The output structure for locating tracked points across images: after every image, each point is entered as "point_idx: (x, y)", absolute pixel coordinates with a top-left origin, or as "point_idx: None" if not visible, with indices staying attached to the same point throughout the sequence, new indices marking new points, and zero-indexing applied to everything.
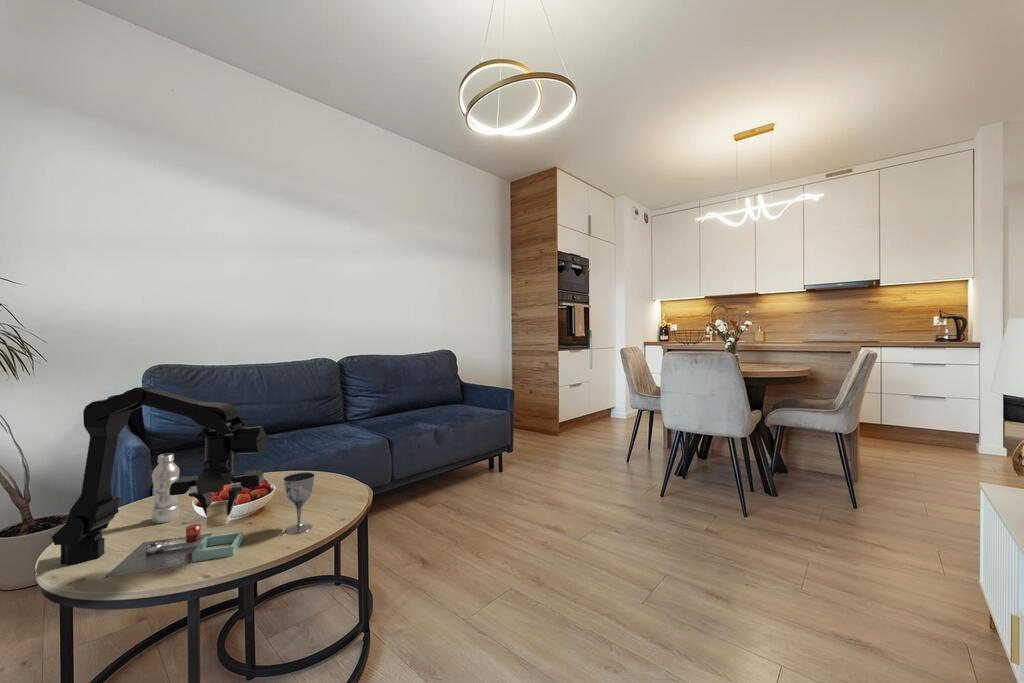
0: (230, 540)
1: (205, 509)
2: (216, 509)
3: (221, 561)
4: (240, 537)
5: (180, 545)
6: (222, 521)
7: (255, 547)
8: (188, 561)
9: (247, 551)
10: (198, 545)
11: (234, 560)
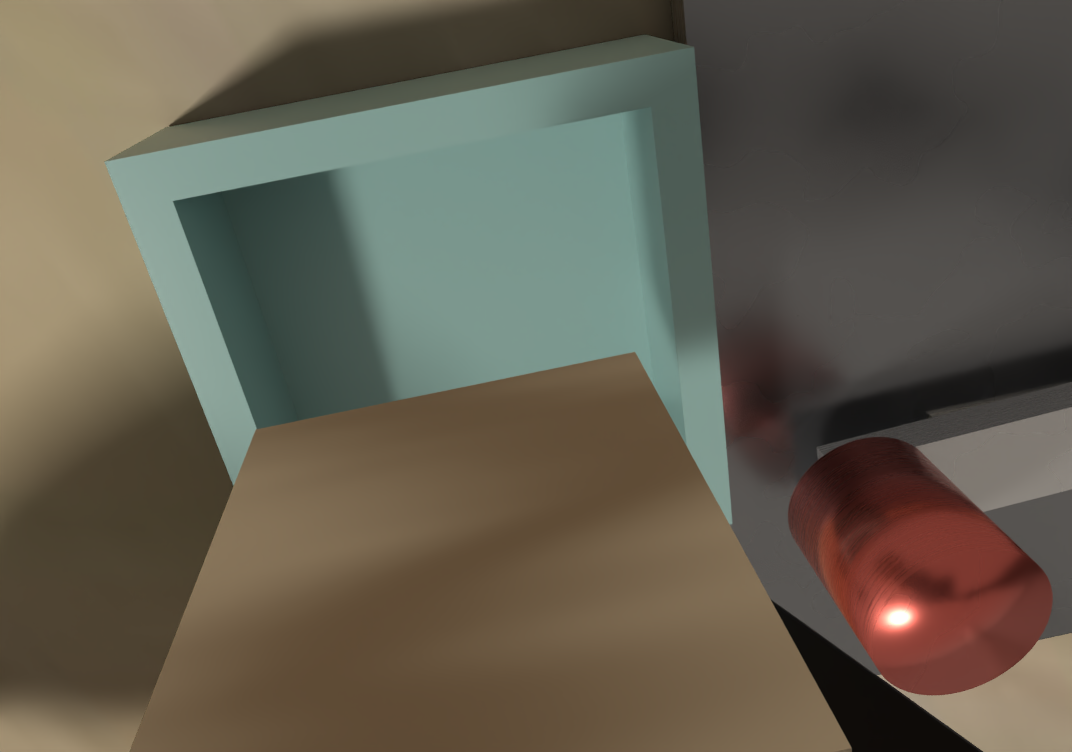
0: None
1: (888, 747)
2: (448, 725)
3: (292, 76)
4: None
5: (962, 416)
6: (308, 479)
7: (60, 404)
8: (707, 48)
9: (98, 312)
10: (706, 284)
11: (114, 75)
